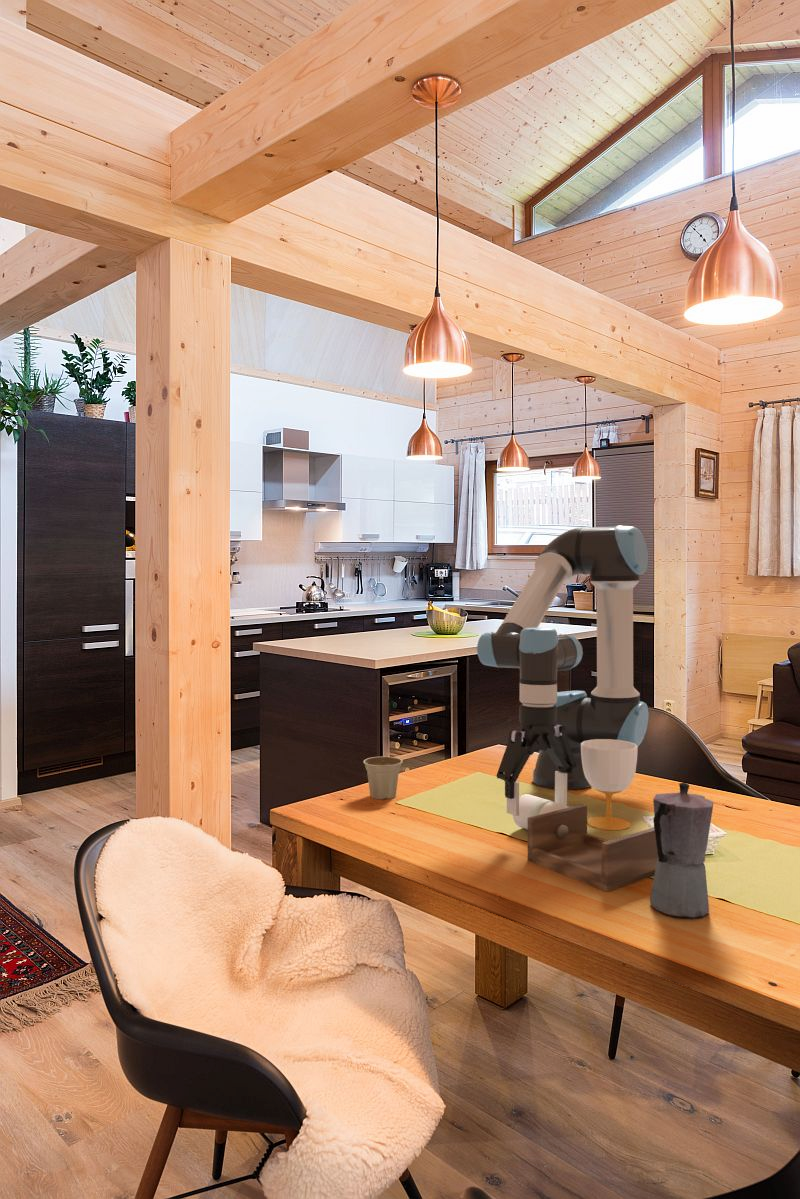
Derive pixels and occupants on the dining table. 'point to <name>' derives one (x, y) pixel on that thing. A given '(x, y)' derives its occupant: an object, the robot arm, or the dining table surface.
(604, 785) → the cup
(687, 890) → the moka pot
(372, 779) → the flower pot
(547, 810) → the roll
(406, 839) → the dining table surface
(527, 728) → the robot arm
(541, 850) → the holder
